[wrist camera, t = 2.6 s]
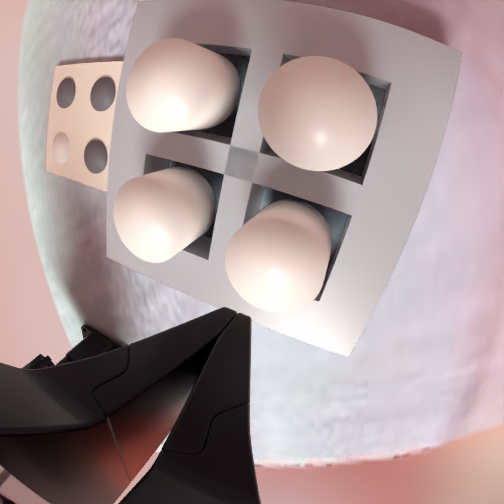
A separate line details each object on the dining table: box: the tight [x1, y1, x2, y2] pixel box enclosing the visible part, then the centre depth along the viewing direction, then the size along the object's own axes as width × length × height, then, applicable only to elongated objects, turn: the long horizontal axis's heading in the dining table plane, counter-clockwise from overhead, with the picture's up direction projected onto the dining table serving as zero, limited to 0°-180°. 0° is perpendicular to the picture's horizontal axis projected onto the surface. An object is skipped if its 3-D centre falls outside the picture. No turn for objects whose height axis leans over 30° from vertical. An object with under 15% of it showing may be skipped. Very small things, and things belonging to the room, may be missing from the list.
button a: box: [225, 199, 333, 313], centre depth 13 cm, size 4×4×3 cm
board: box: [106, 0, 462, 357], centre depth 14 cm, size 16×16×2 cm
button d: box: [126, 38, 241, 132], centre depth 12 cm, size 4×4×3 cm
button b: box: [113, 166, 216, 263], centre depth 14 cm, size 4×4×3 cm
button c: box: [258, 56, 377, 171], centre depth 10 cm, size 4×4×3 cm
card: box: [46, 61, 123, 192], centre depth 18 cm, size 9×9×1 cm
